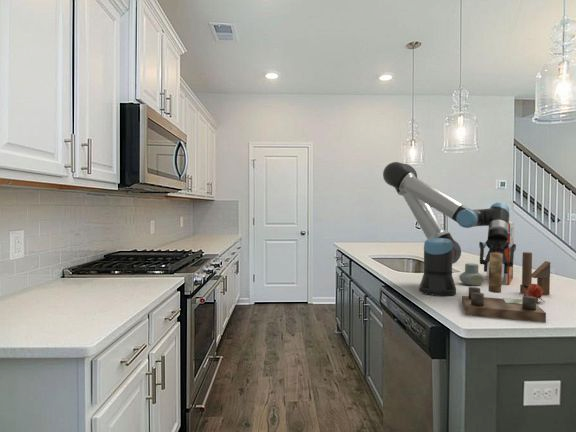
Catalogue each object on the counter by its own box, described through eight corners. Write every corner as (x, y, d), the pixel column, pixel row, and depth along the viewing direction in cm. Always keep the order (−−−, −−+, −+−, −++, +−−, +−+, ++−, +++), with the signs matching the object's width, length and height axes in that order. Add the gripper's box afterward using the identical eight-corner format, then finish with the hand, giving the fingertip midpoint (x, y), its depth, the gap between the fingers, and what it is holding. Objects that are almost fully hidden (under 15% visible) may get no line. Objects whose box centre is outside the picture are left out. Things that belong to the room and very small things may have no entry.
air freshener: (465, 286, 190) (466, 265, 189) (456, 283, 198) (456, 263, 198) (487, 285, 191) (487, 265, 191) (476, 282, 199) (477, 262, 199)
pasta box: (509, 285, 193) (510, 223, 193) (490, 283, 198) (491, 222, 197) (512, 278, 212) (513, 221, 212) (495, 276, 217) (496, 221, 216)
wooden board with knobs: (465, 315, 138) (466, 295, 138) (461, 303, 155) (462, 285, 155) (545, 322, 130) (546, 300, 130) (532, 308, 147) (532, 290, 147)
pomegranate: (536, 305, 163) (515, 288, 165) (550, 292, 160) (528, 276, 163) (540, 311, 156) (517, 294, 158) (554, 298, 154) (531, 281, 156)
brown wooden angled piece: (549, 294, 172) (550, 253, 172) (524, 294, 173) (524, 252, 172) (544, 292, 176) (545, 252, 175) (519, 292, 176) (520, 251, 176)
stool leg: (489, 292, 155) (490, 253, 155) (487, 290, 159) (489, 252, 159) (501, 293, 154) (503, 254, 153) (500, 291, 158) (501, 253, 157)
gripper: (521, 240, 165) (520, 287, 151) (475, 237, 174) (470, 281, 160) (522, 228, 160) (521, 275, 146) (474, 226, 169) (469, 270, 155)
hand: (494, 278), depth 153 cm, fingers closed on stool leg, 4 cm apart
